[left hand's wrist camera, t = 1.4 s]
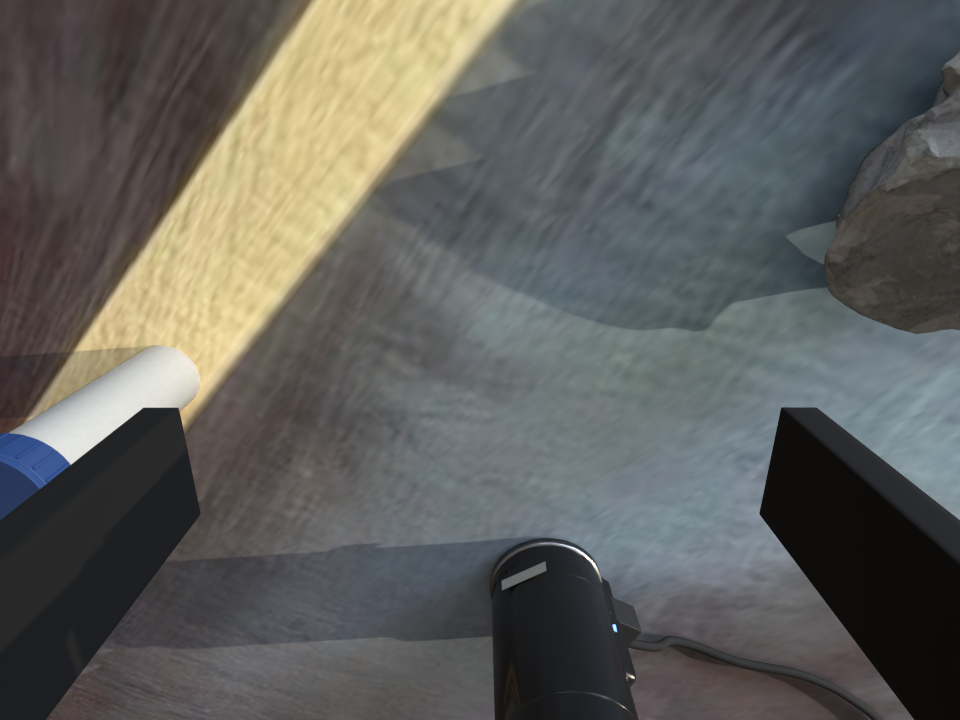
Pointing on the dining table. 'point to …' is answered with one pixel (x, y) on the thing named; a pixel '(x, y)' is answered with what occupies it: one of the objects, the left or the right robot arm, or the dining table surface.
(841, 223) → the decorative stone
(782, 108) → the dining table surface
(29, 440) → the lid
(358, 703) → the dining table surface
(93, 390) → the white bottle
